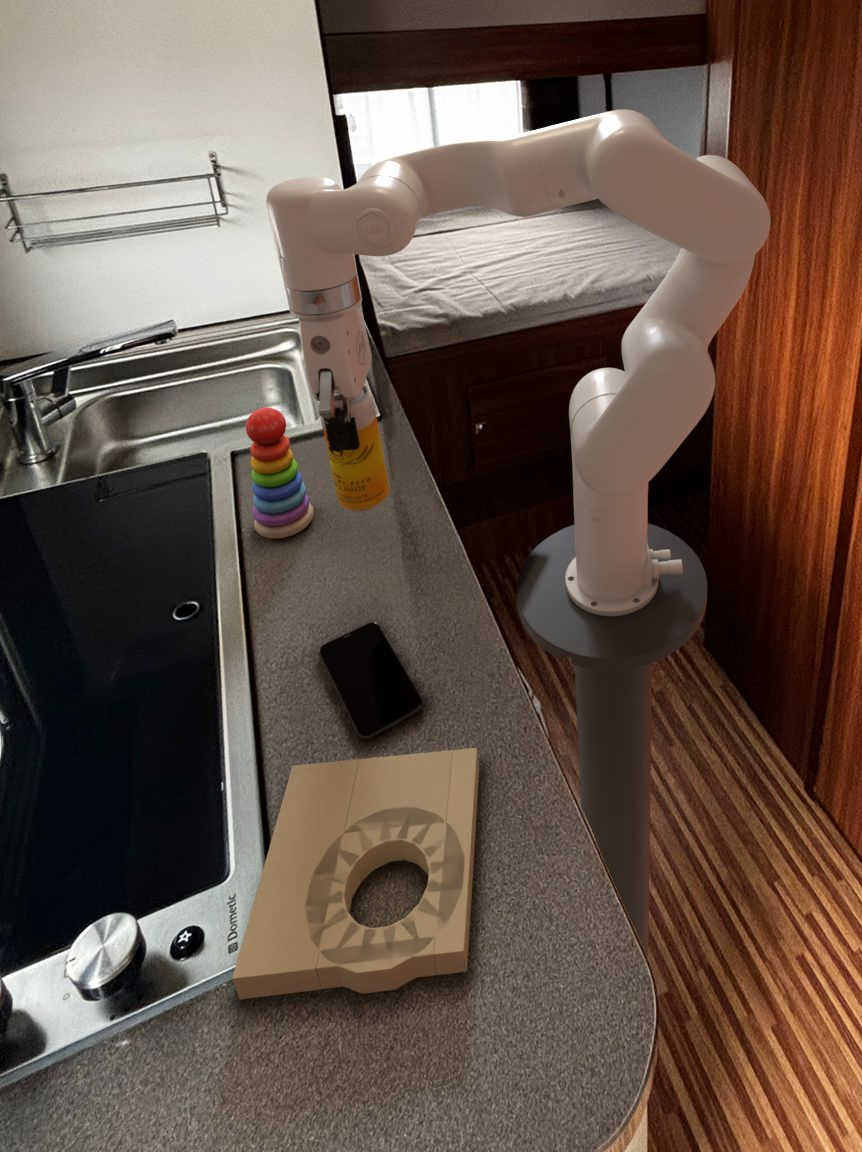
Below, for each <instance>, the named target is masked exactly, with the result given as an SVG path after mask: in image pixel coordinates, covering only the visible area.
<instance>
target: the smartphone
mask: <svg viewBox="0 0 862 1152" xmlns="http://www.w3.org/2000/svg"><path fill="white" fill-rule="evenodd" d="M318 656H319V658H320V661H321V663H322V664H323V667H324V670H325V672H326V674H327V676H328V678H329V681H330V682H331V683H332V686H333V688H334V690H335V692H336V694H337V696H338V698H339V700H340V702H341V704H342V706H343V709H344V711H345V712H346V714H347V716H348V718H349V721H350V722H351V725H352V727H353V728H354V731H355V733H356V736H357V737H358V739H360V740H362V741H368V740H371V739H374V738H375V737H377V736H378V735H380V734H382V733H385V732H386V731H388V730H389V729H391V728H393V727H394V726H397V725H398V724H400V723H402V722H404V721H405V720H407V719H409V718H411V717H413V716H414V715H416V714H418V713H420V712H421V711H422V710H423V708H424V707H425V701H424V698H423V696H422V695H421V693H420V691H419V690H418V688H417V686H416V685H415V683H414V680H413V679H412V677H411V676H410V674H409V672H408V671H407V669H406V667H405V666H404V664H403V662H402V661H401V659H400V657H399V656H398V655H397V653H396V650H395V649H394V647H393V645H392V643H391V642H390V640H389V638H388V637H387V636H386V634H385V632H384V630H383V629H382V627H381V626H380V624H379V623H378V622H375V621H370V622H368V623H365V624H364V625H361V626H358V627H357V628H355V629H352V630H351V631H348V632H346V633H344V634H342V635H340V636H338V637H336V638H334V639H332V640H330V641H328V642H326V643H324V644H322V645H321V646H320V647H319V649H318Z"/></svg>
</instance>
